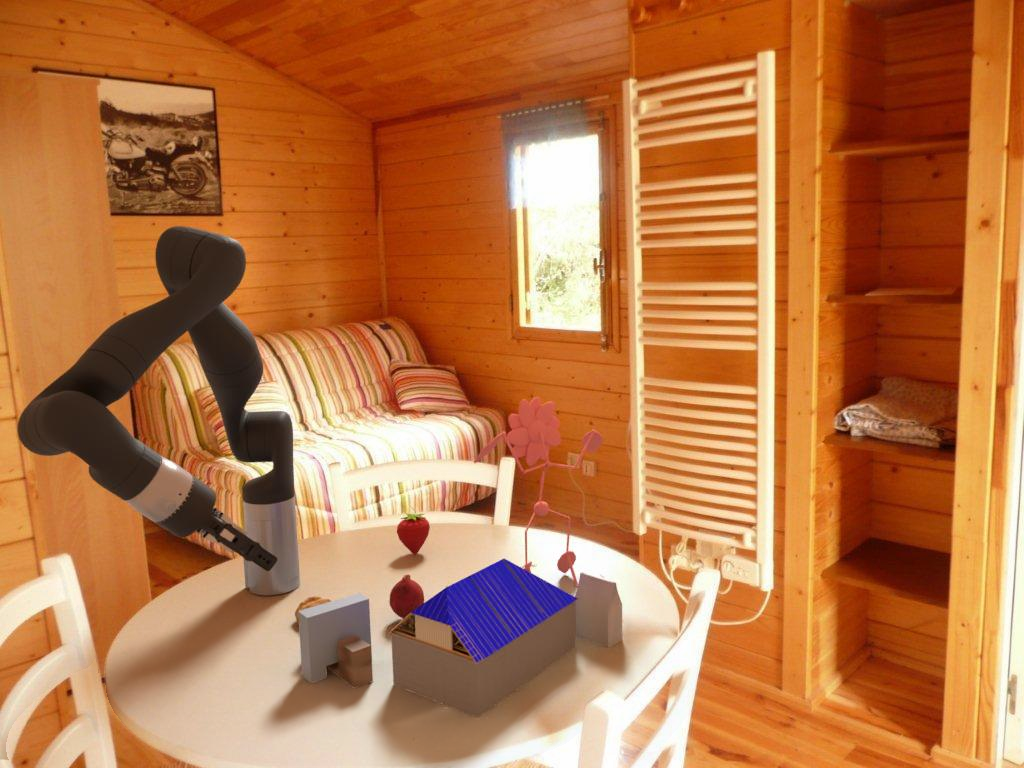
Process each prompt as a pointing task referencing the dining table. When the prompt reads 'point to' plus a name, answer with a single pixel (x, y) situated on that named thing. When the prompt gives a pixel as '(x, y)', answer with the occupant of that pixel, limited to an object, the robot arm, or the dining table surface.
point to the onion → (406, 596)
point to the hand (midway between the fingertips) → (260, 555)
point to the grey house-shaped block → (598, 611)
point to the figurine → (540, 456)
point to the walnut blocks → (353, 661)
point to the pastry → (310, 604)
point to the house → (483, 638)
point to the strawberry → (413, 531)
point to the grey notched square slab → (330, 632)
